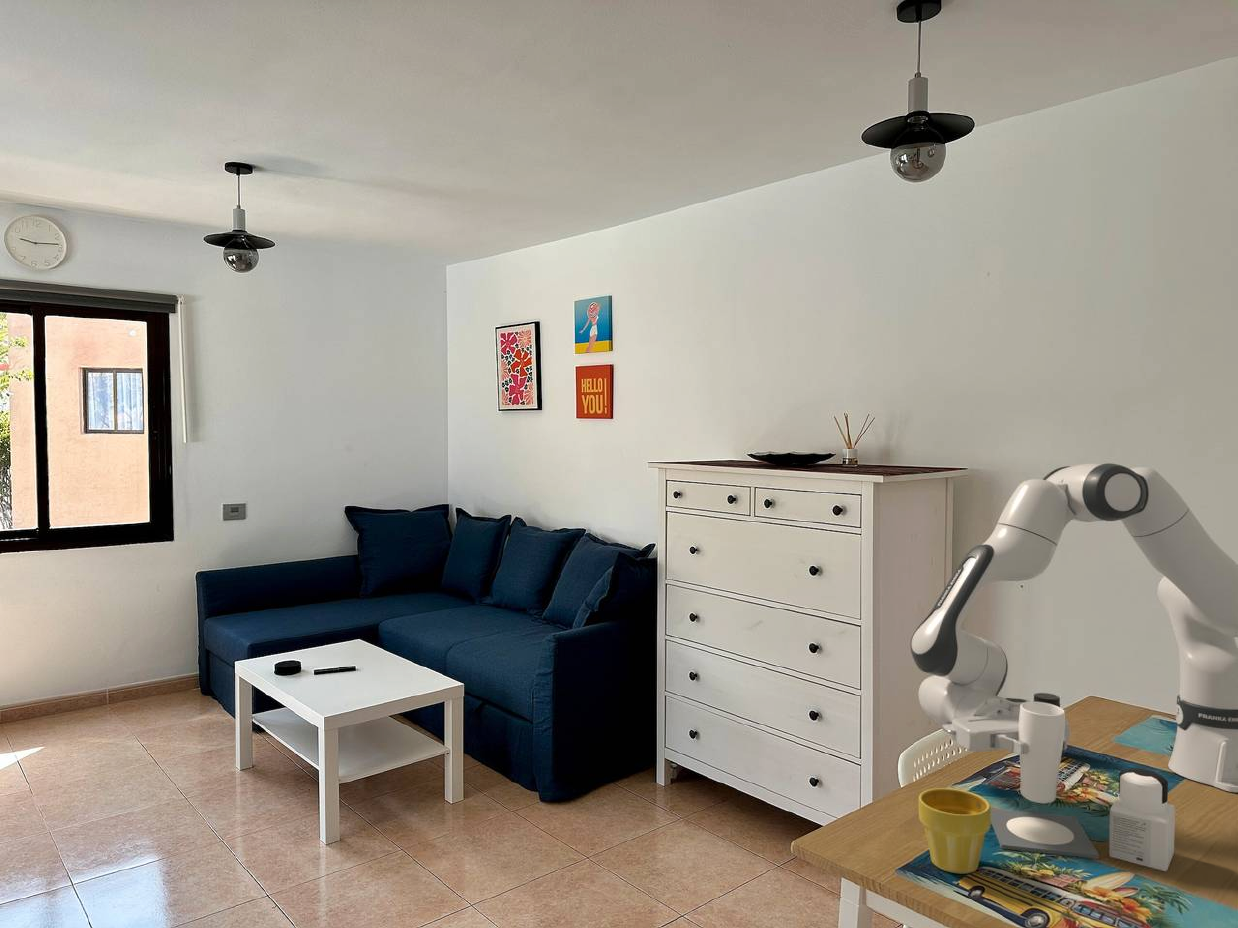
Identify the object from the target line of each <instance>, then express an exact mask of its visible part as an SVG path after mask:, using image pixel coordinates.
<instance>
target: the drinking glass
mask: <svg viewBox="0 0 1238 928" xmlns="http://www.w3.org/2000/svg"><path fill="white" fill-rule="evenodd" d="M1065 719H1066V712H1065V710H1064V709H1063V708H1061V706H1060V707H1058V706H1055V705H1052V704H1048V703H1043V702H1033V701H1031V702H1025V703H1022V704H1021V705H1020V712H1019V740H1021V741H1023V742H1025V743H1027V744H1028V753H1026V754H1019V768H1020V769H1019V771H1020V783H1019V784H1020V787H1019V789H1020V790H1019V792H1020V794H1021V796H1023V798H1025V799H1027V800H1029V801H1030V802H1034V803H1038V804H1039V803H1040V804H1050V803H1053V802H1055V801H1056V799H1057V791H1058V787H1057V786H1058V781H1059V774H1060V773H1059V772H1060V767H1061V760H1062V758H1061V755H1062V748H1063V742H1064V733H1065Z"/></svg>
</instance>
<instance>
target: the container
mask: <svg viewBox="0 0 1238 928" xmlns="http://www.w3.org/2000/svg"><path fill="white" fill-rule="evenodd" d="M1168 790H1169V782H1168V780H1167V779H1166V777H1164V776H1163V775H1161V774H1159V773H1157V772H1156V771H1152V770H1148V769H1144V768H1140V767H1139V768H1137V767H1135V768H1134V767H1133V768H1127V769H1123V770H1121V771H1120V772H1119V773H1118V796H1117V797H1116V798H1115V800H1114V803H1113V804H1112V805H1111V807H1110V809H1109V840H1108V842H1109V846H1108V847H1109V848H1108V849H1109V850H1108V851H1109V852H1108V855H1109V856H1110V857H1111V858H1114V859H1118V860H1121V861H1124V862H1128V863H1132V864H1135V865H1139V866H1143V867H1147V868H1149V869H1154V870H1158V871H1162V872H1168V869H1169V866H1170V863H1171V861H1172V859H1173V856H1174V854H1175V828H1176V827H1175V824H1176V823H1175V818H1176V814H1175V813H1176V807H1175V806H1174V805H1173V804H1168V802H1169V801H1168V800H1169V799H1168V795H1169V794H1168V793H1169V791H1168Z"/></svg>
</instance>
